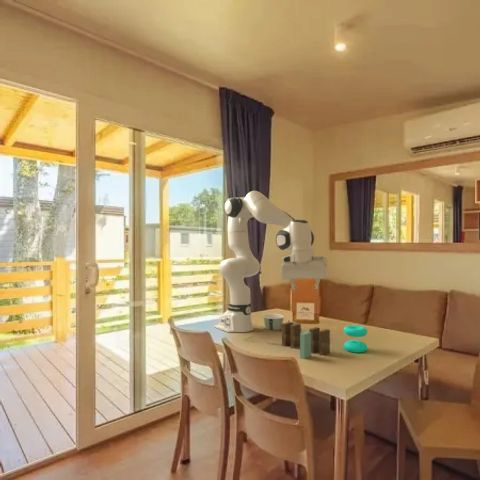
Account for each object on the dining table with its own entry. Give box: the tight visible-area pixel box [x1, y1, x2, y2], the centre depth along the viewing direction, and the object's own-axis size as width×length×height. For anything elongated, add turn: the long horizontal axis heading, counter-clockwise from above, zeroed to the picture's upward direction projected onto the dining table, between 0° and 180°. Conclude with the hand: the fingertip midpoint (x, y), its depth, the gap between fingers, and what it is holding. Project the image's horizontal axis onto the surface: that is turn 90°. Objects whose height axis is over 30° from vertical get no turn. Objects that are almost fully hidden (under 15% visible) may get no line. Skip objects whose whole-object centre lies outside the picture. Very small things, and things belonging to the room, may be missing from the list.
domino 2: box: [290, 323, 302, 349], centre depth 168 cm, size 2×5×10 cm, turn 136°
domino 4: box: [308, 326, 321, 354], centre depth 161 cm, size 2×5×10 cm, turn 136°
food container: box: [262, 313, 285, 331], centre depth 204 cm, size 12×12×7 cm
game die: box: [287, 319, 303, 332], centre depth 185 cm, size 9×8×10 cm
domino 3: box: [299, 331, 312, 360], centre depth 153 cm, size 2×5×10 cm, turn 136°
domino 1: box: [281, 321, 292, 347], centre depth 171 cm, size 2×5×10 cm, turn 136°
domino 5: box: [319, 328, 331, 356], centre depth 157 cm, size 2×5×10 cm, turn 136°
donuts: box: [343, 324, 369, 354], centre depth 162 cm, size 10×10×10 cm
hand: (305, 289), depth 158 cm, fingers open, 8 cm apart
